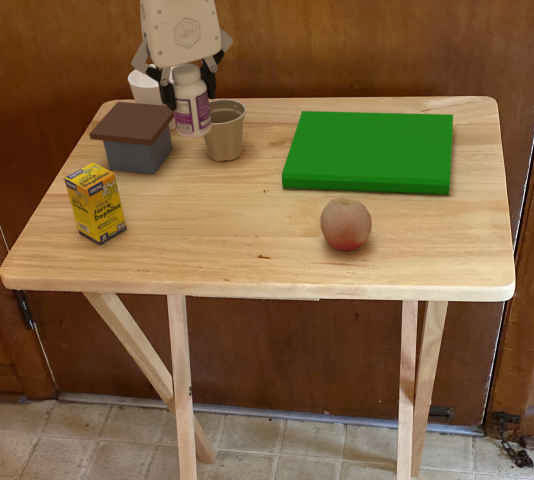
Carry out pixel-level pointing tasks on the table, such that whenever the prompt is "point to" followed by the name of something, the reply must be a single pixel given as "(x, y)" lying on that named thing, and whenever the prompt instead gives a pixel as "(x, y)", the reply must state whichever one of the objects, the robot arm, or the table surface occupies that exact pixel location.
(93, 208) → the supplement box
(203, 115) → the pill bottle
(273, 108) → the table surface
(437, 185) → the book
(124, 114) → the stand
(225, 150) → the flower pot
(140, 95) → the cup
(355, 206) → the fruit
